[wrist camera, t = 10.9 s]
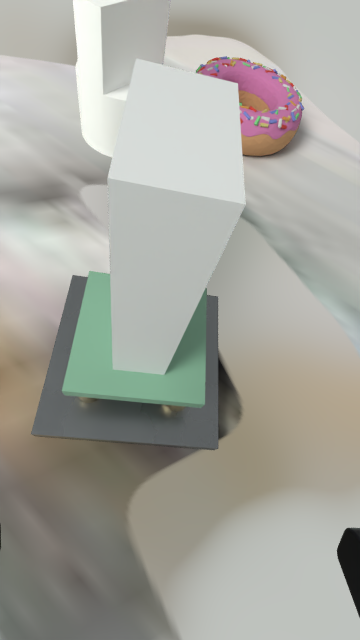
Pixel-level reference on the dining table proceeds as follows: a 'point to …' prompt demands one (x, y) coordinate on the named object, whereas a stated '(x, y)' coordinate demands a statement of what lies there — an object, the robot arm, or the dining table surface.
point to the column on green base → (161, 240)
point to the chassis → (125, 416)
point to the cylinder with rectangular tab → (113, 59)
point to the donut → (260, 103)
